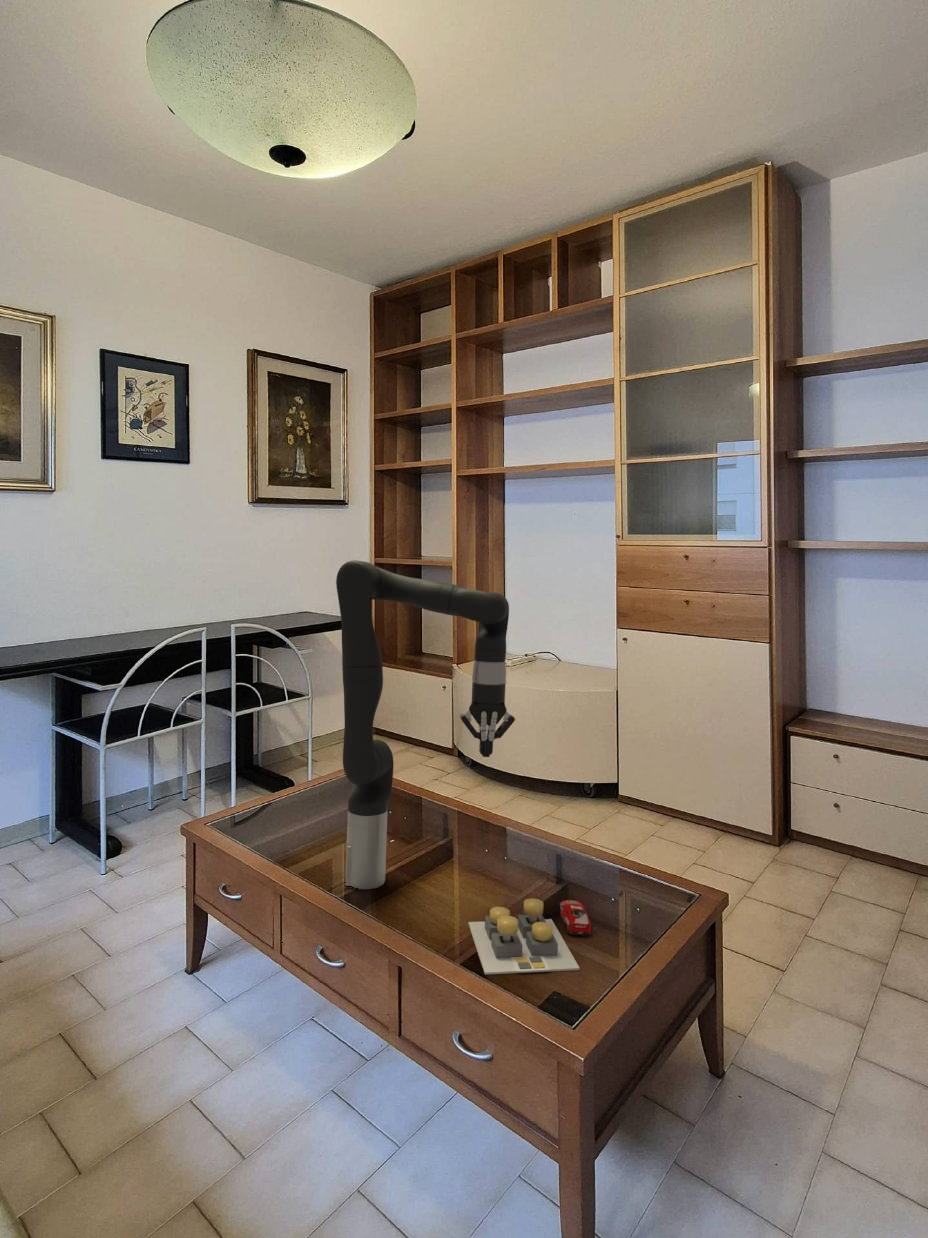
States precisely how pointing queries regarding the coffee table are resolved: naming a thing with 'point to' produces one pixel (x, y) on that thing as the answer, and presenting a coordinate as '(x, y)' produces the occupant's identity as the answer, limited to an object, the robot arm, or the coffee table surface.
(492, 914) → the button back left
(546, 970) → the board
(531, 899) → the button back right
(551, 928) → the button front right
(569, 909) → the race car
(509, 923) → the button front left
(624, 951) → the coffee table surface
